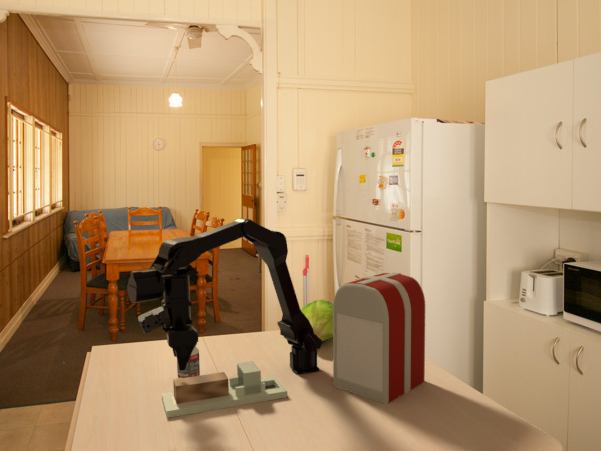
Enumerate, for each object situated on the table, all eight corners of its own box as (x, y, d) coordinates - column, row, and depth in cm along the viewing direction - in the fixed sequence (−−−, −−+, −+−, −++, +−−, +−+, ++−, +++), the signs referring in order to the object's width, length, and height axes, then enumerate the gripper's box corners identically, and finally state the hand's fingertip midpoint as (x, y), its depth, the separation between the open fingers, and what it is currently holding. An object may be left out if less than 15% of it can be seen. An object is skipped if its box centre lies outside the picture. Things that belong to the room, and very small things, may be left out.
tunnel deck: (274, 381, 136) (274, 355, 135) (287, 397, 126) (287, 369, 126) (161, 399, 126) (160, 371, 125) (166, 417, 117) (165, 388, 116)
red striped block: (426, 381, 135) (427, 276, 132) (387, 404, 122) (387, 288, 119) (372, 365, 146) (372, 268, 143) (331, 385, 133) (330, 278, 130)
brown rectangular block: (224, 387, 128) (224, 371, 128) (228, 395, 124) (228, 378, 124) (173, 396, 124) (173, 378, 124) (176, 404, 120) (175, 386, 120)
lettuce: (291, 352, 157) (290, 313, 156) (304, 328, 179) (303, 294, 178) (335, 354, 155) (334, 315, 153) (342, 330, 177) (342, 295, 176)
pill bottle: (194, 382, 136) (193, 344, 135) (174, 381, 137) (172, 343, 136) (203, 373, 141) (201, 337, 140) (183, 372, 143) (181, 336, 141)
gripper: (136, 290, 126) (139, 354, 128) (142, 309, 108) (145, 383, 110) (184, 286, 130) (186, 348, 131) (197, 304, 112) (199, 375, 114)
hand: (179, 362), depth 122 cm, fingers open, 9 cm apart
